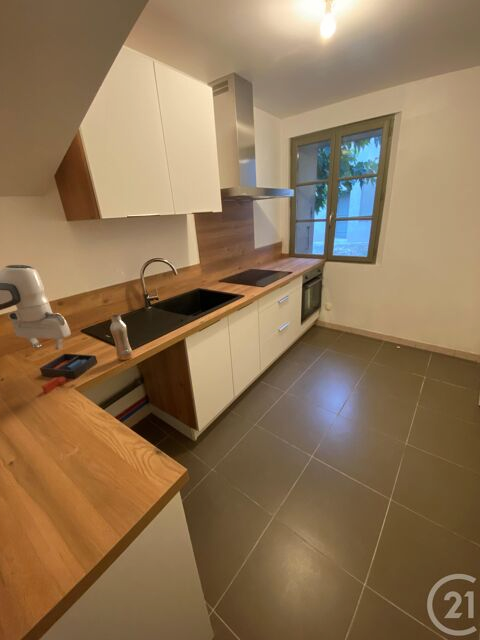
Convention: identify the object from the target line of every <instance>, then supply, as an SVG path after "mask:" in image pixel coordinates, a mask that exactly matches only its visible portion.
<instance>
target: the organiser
mask: <svg viewBox="0 0 480 640" xmlns="http://www.w3.org/2000/svg"><path fill="white" fill-rule="evenodd" d="M84 359H85V360H87V361H86V362H84V363H83V364H81V365H80V366H78V367H77V368H75V369H74V370H68V368H67V367H68V366H69V365H71V364H72V363H74V362H75V361H77V360H84ZM97 364H98V360H97V357H96V355H91V354H78V353H77V354H76V353H63V354H61V355H60V356H58V357H56V358H55V359H53V360H50V361H49V362H48V363H46V364H44V365H43V366H40V368H39V371H40V373H41V376H43V377H49V376H50V378H55V377H57V378H58V377H65V378H66V379H69V380H71V379H72V380H76V379H78V378H79V377H80V376H82V375H83V374H85V373H86V372H87V371H88V370H90V369H92V368H93V367H94V366H95V365H97Z"/></svg>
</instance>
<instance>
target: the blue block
mask: <svg viewBox="0 0 480 640" xmlns="http://www.w3.org/2000/svg"><path fill="white" fill-rule="evenodd" d="M86 361H87V360H85V359H84V360H77V361H75V362H74V363H72V364H71V365H69V366H68V367H67V368H68V370H74V369H75V368H77V367H78V366H80V365H81V364H83V363H84V362H86Z"/></svg>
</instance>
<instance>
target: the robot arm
mask: <svg viewBox="0 0 480 640" xmlns="http://www.w3.org/2000/svg"><path fill="white" fill-rule="evenodd" d="M14 306H15V307H16V310H14V311H12V312H9V313H7V317H8V319H9V320H11V321H10V323H11V326H12V329H13V331H14V333H15V335H16V336H17V337H19V338H27V340H28V342H30V344H32V347H33V348H34V349H39V348H41V347H42V343H41V342H40V341H39V340H38V339H45V340H47V339H48V340H54V341H55V343H56V344H54V345H53V346H54V348H55V350H62V349H63V348H64V346H63V342H64V339H67V338H69V337H70V336H71V334H72V332H71V329H70V326H69V324H68V322H67V320H66V319H65V318H64V316H63V315H61V314H60V312H53V310H52V307H51V304H50V301H49V298H48V297H47V296H46V292H45V286H44V283H43V281H42V278H41V276H40V274H39V272H38V271H37V269H35V268H34V267H32V266H30V265H24V264H12V265H11V264H9V265H5V266H4V267H3V268H2V269H1V270H0V311H3V310H5V309H8V308H11V307H14Z"/></svg>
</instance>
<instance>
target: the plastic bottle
mask: <svg viewBox="0 0 480 640" xmlns="http://www.w3.org/2000/svg"><path fill="white" fill-rule="evenodd" d="M110 319H111V324H110V327H109V330H110V332H111V335H112V337H113V340H114V344H115V354H116V357H117V359H119V360H121V361H125V360H129V359H131V358H132V356H133V349H132V347H131V345H130V341H129V338H128V328H127V324H126V323H125V322H124V321H123V320H122V317H121V314H119V313H117V314H112V315H111V316H110Z"/></svg>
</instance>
